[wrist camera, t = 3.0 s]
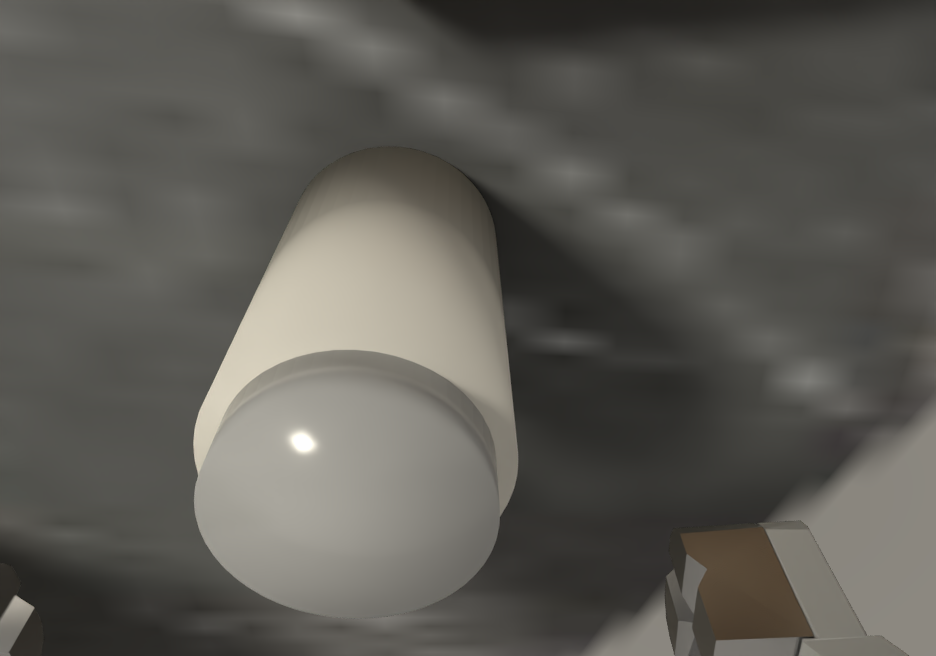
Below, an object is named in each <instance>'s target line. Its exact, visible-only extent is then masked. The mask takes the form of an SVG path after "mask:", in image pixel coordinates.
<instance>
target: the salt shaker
mask: <svg viewBox="0 0 936 656" xmlns="http://www.w3.org/2000/svg"><path fill="white" fill-rule="evenodd" d="M193 445H194V457H195V463H196V467H197V471H198V479H197V482H196V485H195V495H194V506H195V516H196V519H197V523H198V527H199V530H200V532H201V534H202V536H203V539H204V541H205V543H206V545H207V546H208V548H209V549H210V551H211V552H212V554H213V555H214V557H215V558H216V559H217V560H218V561H219V562H220V563H221V565H222V566H223V567H224V568H225V569H226V570H227V571H228V572H229V573H231V574H232V575H233V576H234V577H235V578H236V579H237V580H239V581H240V582H242V583H243V584H244V585H246V586H247V587H249V588H250V589H252V590H253V591H255V592H257V593H259V594H260V595H262V596H264V597H266V598H268V599H270V600H272V601H275V602H277V603H279V604H281V605H284V606H287V607H290V608H293V609H296V610H299V611H303V612H307V613H311V614H315V615H322V616H328V617H335V618H349V619H367V618H379V617H388V616H394V615H399V614H404V613H408V612H411V611H414V610H418V609H421V608H424V607H426V606H429V605H431V604H434V603H436V602H438V601H440V600H442V599H444V598H445V597H447V596H449V595H451V594H452V593H454V592H455V591H457V590H458V589H460V588H461V587H463V586H464V585H465V584H466V583H467V582H468V581H469V580H470V579H472V578H473V577H474V576H475V575H476V573H477V572H478V571H479V570H480V569H481V567H482V566H483V565H484V564H485V562H486V560H487V559H488V557H489V555H490V554H491V552H492V550H493V547H494V544H495V542H496V539H497V535H498V530H499V525H500V516H501V514H502V513H503V511H504V509H505V508H506V506H507V504H508V502H509V500H510V498H511V495H512V493H513V490H514V487H515V483H516V478H517V473H518V447H517V438H516V428H515V418H514V408H513V398H512V389H511V379H510V369H509V359H508V350H507V340H506V330H505V320H504V310H503V301H502V291H501V281H500V271H499V261H498V252H497V242H496V234H495V226H494V223H493V219H492V216H491V213H490V211H489V208H488V206H487V204H486V202H485V200H484V199H483V197H482V195H481V194H480V192H479V191H478V190H477V188H476V187H475V186H474V185H473V183H472V182H471V181H470V180H469V179H468V178H467V177H466V176H465V175H464V174H463V173H461V172H460V171H459V170H457V169H456V168H455V167H453V166H452V165H451V164H449V163H447V162H445V161H444V160H442V159H440V158H438V157H436V156H433V155H431V154H428V153H426V152H423V151H419V150H415V149H411V148H403V147H376V148H368V149H364V150H360V151H357V152H353V153H351V154H349V155H346V156H344V157H342V158H340V159H338V160H336V161H335V162H333V163H331V164H330V165H328V166H327V167H326V168H325V169H323V170H322V171H321V172H320V173H319V174H318V175H317V176H316V177H315V178H314V179H313V180H312V181H311V182H310V183H309V185H308V186H307V188H306V189H305V191H304V192H303V194H302V196H301V198H300V200H299V202H298V204H297V206H296V208H295V211H294V213H293V215H292V217H291V219H290V221H289V223H288V225H287V227H286V230H285V232H284V234H283V236H282V238H281V240H280V242H279V244H278V246H277V249H276V251H275V253H274V255H273V257H272V259H271V261H270V263H269V265H268V268H267V270H266V272H265V274H264V276H263V278H262V280H261V282H260V284H259V287H258V289H257V291H256V293H255V295H254V297H253V299H252V301H251V303H250V305H249V308H248V310H247V312H246V314H245V316H244V318H243V320H242V322H241V324H240V327H239V329H238V331H237V333H236V335H235V337H234V339H233V341H232V343H231V346H230V348H229V350H228V352H227V354H226V356H225V358H224V360H223V362H222V365H221V367H220V369H219V371H218V373H217V375H216V377H215V379H214V381H213V384H212V386H211V388H210V390H209V392H208V394H207V396H206V398H205V400H204V403H203V405H202V407H201V409H200V411H199V414H198V418H197V422H196V425H195V432H194V442H193Z"/></svg>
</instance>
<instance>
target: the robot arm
mask: <svg viewBox="0 0 936 656" xmlns="http://www.w3.org/2000/svg"><path fill="white" fill-rule="evenodd" d="M669 554H670V557H671V561H672V564H673V567H674V569H673V570H672V571H671V572H670V573H669V574H668V575H667V576H666V585H665V607H666V620H667V625H668V630H669V636H670V640H671V644H672V647H673V651H674V655H675V656H909V655H907V654H906V653H905V652H903V651H902V650H900V649H899V648H898V647H896V646H895V645H893V644H892V643H891V642H889V641H888V640H886V639H885V638H884V637H882V636H867V634H866V632H865V631H864V629H863V627H862V625H861V623H860V621H859V620H858V618H857V616H856V614H855V612H854V610H853V609H852V607H851V605H850V603H849V601H848V599H847V598H846V596H845V594H844V592H843V590H842V588H841V587H840V585H839V583H838V581H837V579H836V577H835V576H834V574H833V572H832V570H831V568H830V567H829V565H828V563H827V561H826V559H825V557H824V555H823V554H822V552H821V550H820V548H819V547H818V545H817V543H816V541H815V539H814V537H813V536H812V534H811V532H810V530H809V528H808V526H806V525H805V524H804V523H803V522H801V521H784V522H767V523H757V524H754V523H747V524H731V525H715V526H699V527H682V528H673V531H672V533H671V535H670V543H669ZM21 584H22V582H21V581H20V579H19V578H18V576H17V574H16V573H15V571H14V569H13V568H12V566H11V565H10V564H1V563H0V656H41V652H42V647H43V642H44V634H43V627H42V621H41V619H40V617H39V615H38V613H37V611H36V609H35V607H33V606H32V605H30V604H28V603H27V602H25V601H24V600H22V599H21V598H19V597H17V596H16V595H17V593H18V590H19V588H20V586H21Z"/></svg>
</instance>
